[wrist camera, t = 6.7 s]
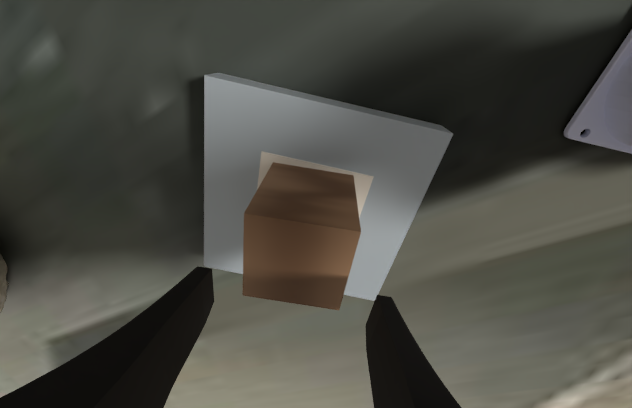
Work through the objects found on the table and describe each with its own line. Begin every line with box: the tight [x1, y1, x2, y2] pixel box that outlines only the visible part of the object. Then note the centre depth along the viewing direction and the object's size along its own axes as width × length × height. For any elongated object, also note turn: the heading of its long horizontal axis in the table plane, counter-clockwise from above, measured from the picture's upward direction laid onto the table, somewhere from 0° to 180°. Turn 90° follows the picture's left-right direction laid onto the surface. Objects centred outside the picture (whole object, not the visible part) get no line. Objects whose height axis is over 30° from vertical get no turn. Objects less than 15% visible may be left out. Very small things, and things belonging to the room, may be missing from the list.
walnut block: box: [243, 162, 361, 310], centre depth 15 cm, size 5×5×6 cm
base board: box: [204, 73, 453, 301], centre depth 19 cm, size 14×14×2 cm
